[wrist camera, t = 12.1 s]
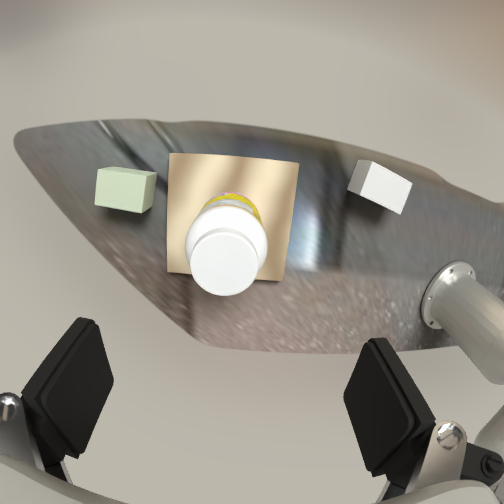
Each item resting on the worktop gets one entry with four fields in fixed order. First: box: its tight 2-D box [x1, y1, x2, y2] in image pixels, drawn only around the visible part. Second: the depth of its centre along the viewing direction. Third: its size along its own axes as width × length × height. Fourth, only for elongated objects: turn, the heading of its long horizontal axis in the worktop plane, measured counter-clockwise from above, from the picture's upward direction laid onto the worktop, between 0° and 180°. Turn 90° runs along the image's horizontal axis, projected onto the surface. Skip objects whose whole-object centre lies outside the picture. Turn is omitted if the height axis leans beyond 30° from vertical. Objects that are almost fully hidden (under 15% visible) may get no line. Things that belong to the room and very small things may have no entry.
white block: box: [347, 160, 412, 214], centre depth 29 cm, size 6×4×4 cm, turn 71°
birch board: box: [167, 153, 299, 281], centre depth 31 cm, size 14×14×2 cm
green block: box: [95, 167, 157, 213], centre depth 28 cm, size 6×4×4 cm, turn 77°
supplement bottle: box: [185, 192, 268, 296], centre depth 25 cm, size 7×7×13 cm
